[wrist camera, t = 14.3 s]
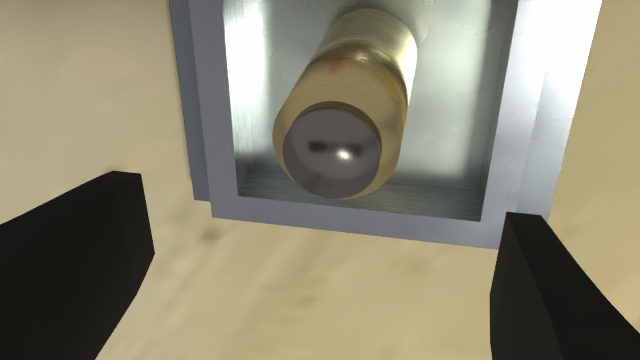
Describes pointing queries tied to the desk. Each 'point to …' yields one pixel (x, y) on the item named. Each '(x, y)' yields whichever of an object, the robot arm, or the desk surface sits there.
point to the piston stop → (349, 107)
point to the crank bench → (421, 121)
